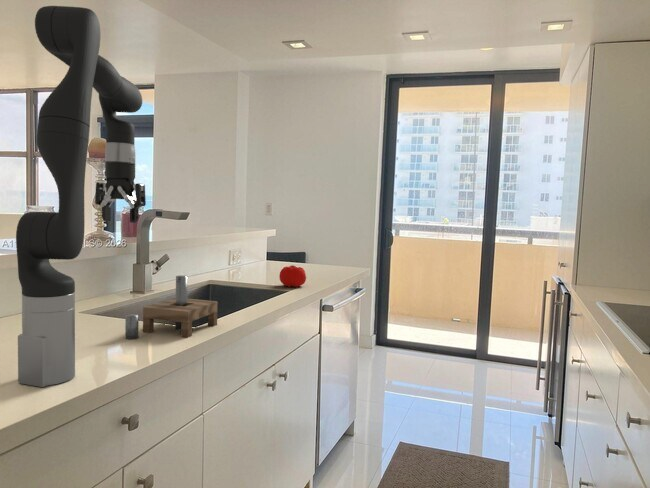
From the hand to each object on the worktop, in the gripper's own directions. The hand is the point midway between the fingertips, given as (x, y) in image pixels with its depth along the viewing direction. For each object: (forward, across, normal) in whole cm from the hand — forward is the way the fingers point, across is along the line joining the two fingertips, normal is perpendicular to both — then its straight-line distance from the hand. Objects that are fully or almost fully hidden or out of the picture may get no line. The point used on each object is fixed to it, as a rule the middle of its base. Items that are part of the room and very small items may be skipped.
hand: (120, 221), depth 138 cm
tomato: (+30, +15, +96) cm, 102 cm away
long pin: (+30, +13, +10) cm, 34 cm away
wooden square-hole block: (+30, +13, +10) cm, 34 cm away
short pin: (+30, +7, -4) cm, 31 cm away
